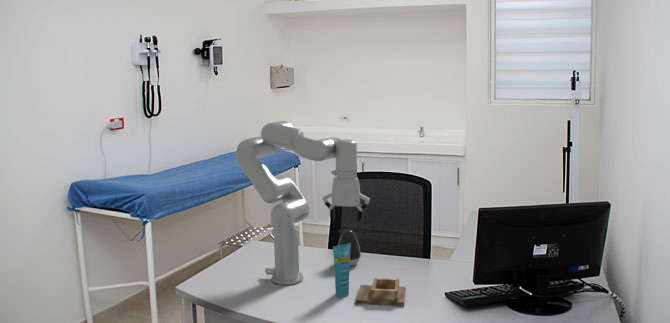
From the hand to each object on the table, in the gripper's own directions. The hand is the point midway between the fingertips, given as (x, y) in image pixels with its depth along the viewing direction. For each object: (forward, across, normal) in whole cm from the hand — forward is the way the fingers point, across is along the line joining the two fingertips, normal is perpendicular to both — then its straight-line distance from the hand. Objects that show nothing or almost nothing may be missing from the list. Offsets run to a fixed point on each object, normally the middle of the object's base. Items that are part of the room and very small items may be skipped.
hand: (346, 220), depth 202 cm
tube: (+28, -1, -1) cm, 28 cm away
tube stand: (+28, +13, -2) cm, 31 cm away
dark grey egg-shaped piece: (+29, -4, +31) cm, 42 cm away
